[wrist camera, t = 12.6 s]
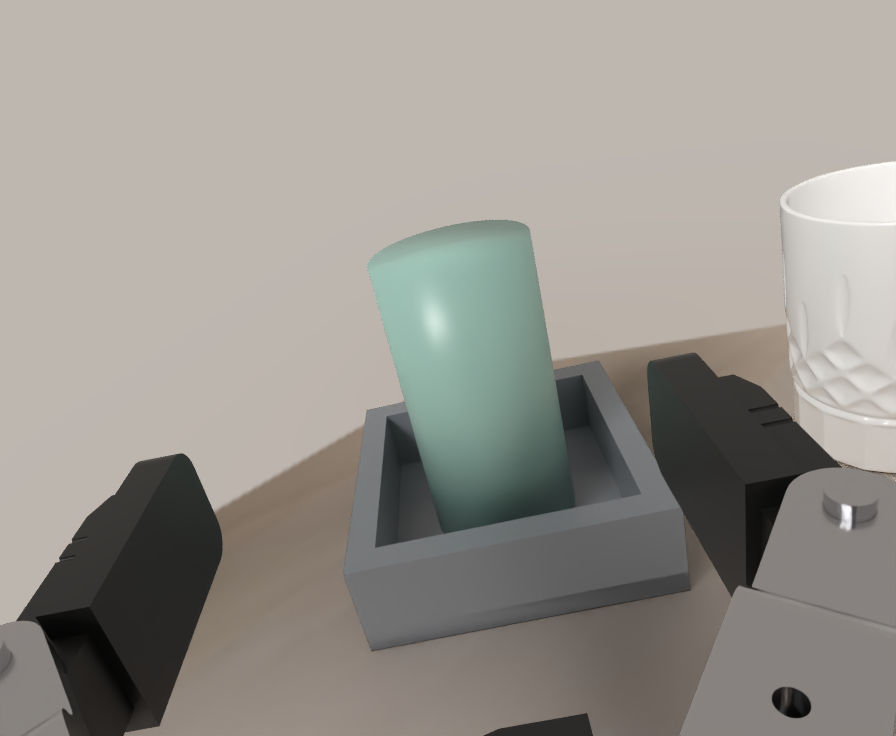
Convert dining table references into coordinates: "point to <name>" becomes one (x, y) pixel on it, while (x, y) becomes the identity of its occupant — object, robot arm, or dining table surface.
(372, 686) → the dining table surface
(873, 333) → the white cup
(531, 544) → the dish
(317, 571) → the dining table surface
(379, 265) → the mint green cylinder
